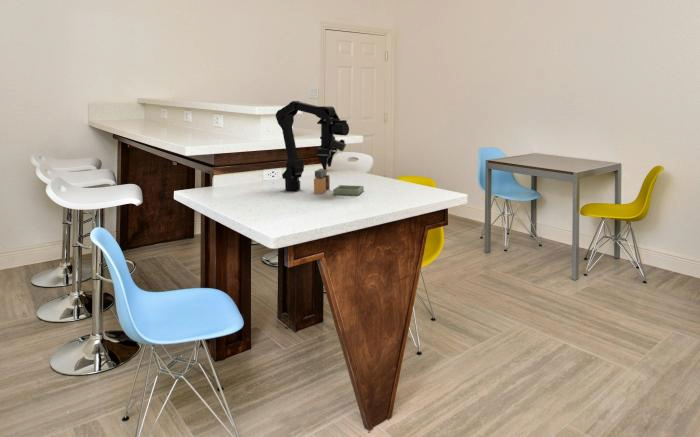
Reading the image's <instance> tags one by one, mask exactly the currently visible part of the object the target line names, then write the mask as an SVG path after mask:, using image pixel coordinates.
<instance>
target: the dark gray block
mask: <svg viewBox="0 0 700 437" xmlns="http://www.w3.org/2000/svg"><path fill="white" fill-rule="evenodd" d="M325 175H328V174H327V168H326V170H324V169H323V167H322V168H318V169H317V170H315V171H314V178H322V177H323V176H325Z"/></svg>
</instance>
